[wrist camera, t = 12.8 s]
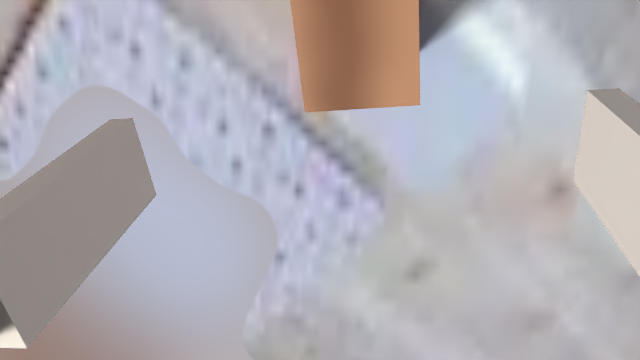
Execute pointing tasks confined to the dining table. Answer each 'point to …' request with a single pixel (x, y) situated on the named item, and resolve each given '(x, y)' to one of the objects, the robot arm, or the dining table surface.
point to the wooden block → (357, 53)
